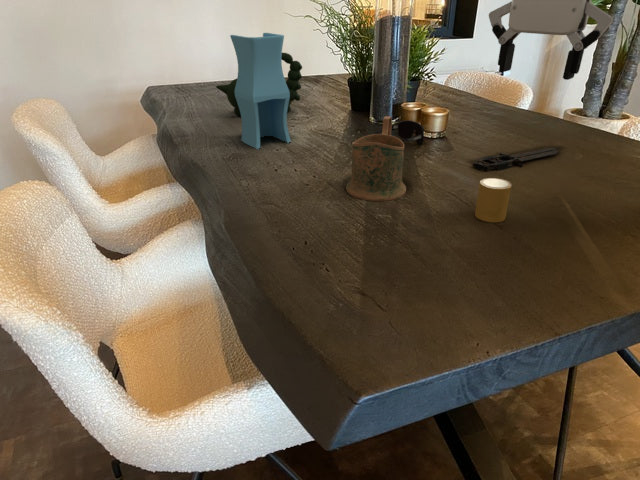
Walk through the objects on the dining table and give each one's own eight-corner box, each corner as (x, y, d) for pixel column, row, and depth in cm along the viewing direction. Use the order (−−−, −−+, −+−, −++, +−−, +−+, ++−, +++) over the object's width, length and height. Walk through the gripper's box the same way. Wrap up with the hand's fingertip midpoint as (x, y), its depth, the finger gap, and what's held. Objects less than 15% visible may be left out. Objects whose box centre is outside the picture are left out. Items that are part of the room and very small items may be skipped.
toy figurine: (296, 114, 156) (216, 111, 151) (300, 51, 147) (216, 46, 143) (300, 122, 148) (216, 118, 143) (304, 55, 139) (215, 49, 134)
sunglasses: (429, 146, 119) (429, 126, 116) (389, 160, 115) (388, 139, 112) (403, 135, 127) (402, 117, 125) (365, 148, 123) (363, 129, 120)
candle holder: (503, 211, 85) (509, 178, 83) (507, 223, 81) (513, 189, 78) (473, 209, 86) (478, 177, 83) (476, 221, 82) (481, 187, 79)
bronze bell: (413, 172, 103) (418, 115, 98) (401, 204, 89) (406, 139, 83) (360, 167, 106) (361, 111, 101) (339, 197, 91) (340, 134, 86)
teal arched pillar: (272, 133, 130) (266, 32, 119) (291, 142, 123) (287, 35, 112) (238, 139, 126) (229, 35, 114) (256, 149, 118) (248, 38, 107)
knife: (553, 150, 116) (555, 144, 115) (575, 158, 111) (577, 152, 110) (466, 164, 108) (467, 157, 107) (485, 173, 102) (486, 166, 102)
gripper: (639, -57, 64) (603, 78, 72) (510, -52, 74) (491, 66, 82) (625, -60, 59) (588, 85, 67) (489, -55, 69) (471, 71, 77)
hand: (535, 74), depth 75 cm, fingers open, 9 cm apart
